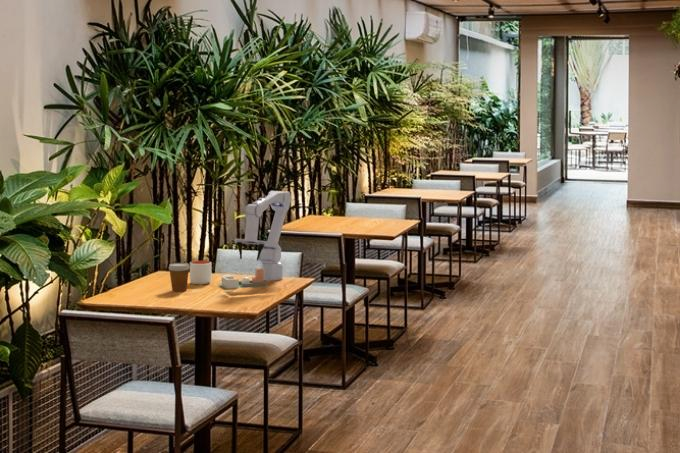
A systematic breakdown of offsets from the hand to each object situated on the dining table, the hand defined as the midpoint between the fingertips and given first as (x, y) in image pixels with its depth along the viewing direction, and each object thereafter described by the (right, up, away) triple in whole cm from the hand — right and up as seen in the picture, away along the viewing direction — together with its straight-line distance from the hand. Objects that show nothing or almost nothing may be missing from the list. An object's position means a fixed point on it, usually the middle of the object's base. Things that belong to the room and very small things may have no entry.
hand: (249, 259), depth 465 cm
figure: (+4, -12, +4) cm, 13 cm away
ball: (-2, -10, +1) cm, 10 cm away
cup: (-24, -12, +12) cm, 29 cm away
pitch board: (-3, -13, +3) cm, 13 cm away
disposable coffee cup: (-31, -14, -7) cm, 35 cm away
